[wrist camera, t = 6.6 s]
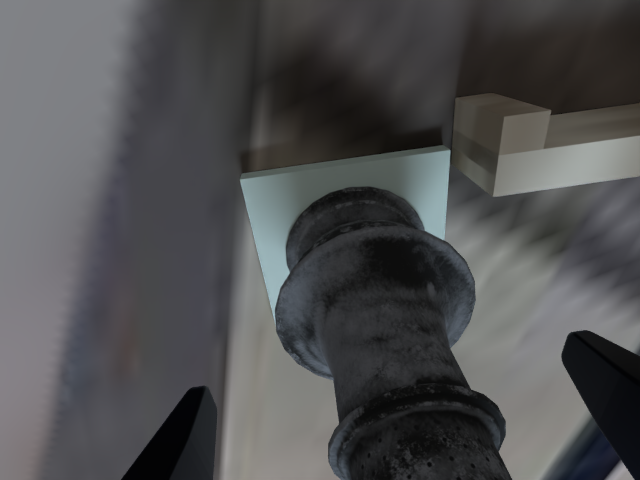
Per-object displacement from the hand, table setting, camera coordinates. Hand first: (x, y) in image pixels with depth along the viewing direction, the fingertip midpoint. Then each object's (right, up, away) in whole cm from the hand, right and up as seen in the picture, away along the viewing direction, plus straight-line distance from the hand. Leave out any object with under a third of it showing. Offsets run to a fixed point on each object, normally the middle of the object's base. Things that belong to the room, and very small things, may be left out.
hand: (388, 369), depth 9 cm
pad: (-1, +3, +5) cm, 6 cm away
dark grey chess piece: (0, +3, +5) cm, 6 cm away
